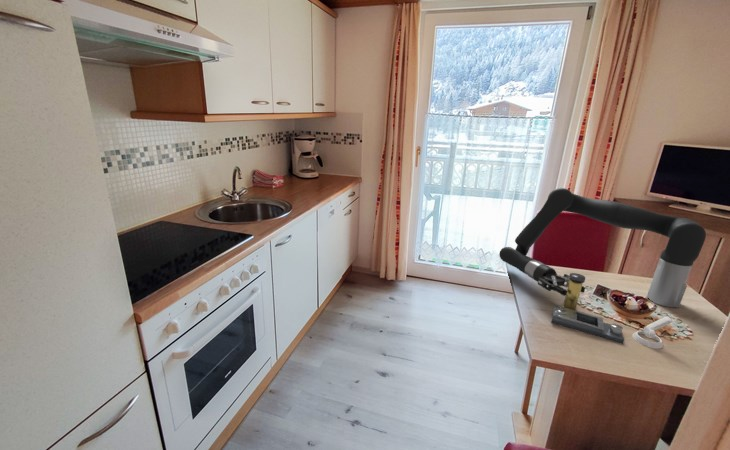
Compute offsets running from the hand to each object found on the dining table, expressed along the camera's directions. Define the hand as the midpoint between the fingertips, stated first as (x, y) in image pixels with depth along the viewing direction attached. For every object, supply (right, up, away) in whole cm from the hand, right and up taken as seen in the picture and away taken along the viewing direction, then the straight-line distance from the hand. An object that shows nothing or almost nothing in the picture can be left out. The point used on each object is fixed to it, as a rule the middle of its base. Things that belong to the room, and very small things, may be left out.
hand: (575, 291), depth 119 cm
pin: (0, -7, +3) cm, 8 cm away
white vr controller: (+15, -13, -13) cm, 24 cm away
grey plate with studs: (-1, -11, -7) cm, 13 cm away
